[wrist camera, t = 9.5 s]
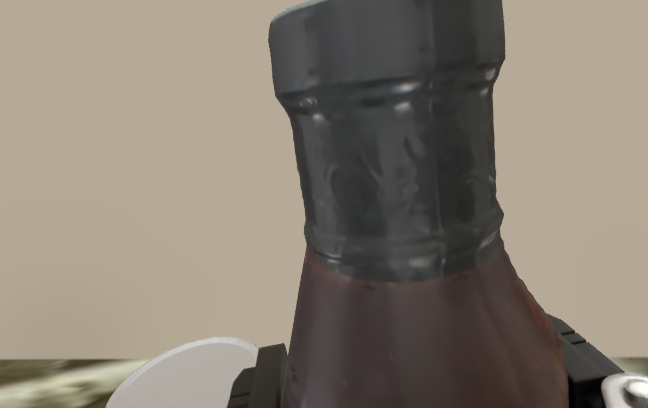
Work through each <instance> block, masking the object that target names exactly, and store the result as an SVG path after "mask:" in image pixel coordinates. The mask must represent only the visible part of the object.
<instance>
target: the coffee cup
mask: <svg viewBox="0 0 648 408" xmlns="http://www.w3.org/2000/svg"><path fill="white" fill-rule="evenodd" d="M258 350H259V348H258V347H257V346H256V345H255V344H253V343H252V342H250V341H248V340H245V339H242V338H238V337H229V336H228V337H227V336H220V337H210V338H205V339H200V340H196V341H192V342H189V343H186V344H183V345H181V346H177V347H175V348H173V349H171V350H168V351H167V352H164V353H162V354H160V355H158V356H157V357H155V358H153V359H152V360H150V361H148V362H147V363H145V364H144V365H142V366H141V367H140V368H138V369H137V370H136V371H134V372H133V373H132V374H131V375H130V376H129V377H127V378H126V379H125V380H124V381H123V382H122V383H121V384H120V386H119V387H118V388H117V389H116V390H115V392H114V393H113V395H112V396H111V397H110V399H109V401H108V403H107V405H106V408H227V405H228V401H229V399H230V393H231V389H232V385H233V382H234V381H235V379H236V378H237V377H238V375H239V374H240V373H241V371H242V370H243V369H245V368H251V367H255V366H256V360H257V355H258Z"/></svg>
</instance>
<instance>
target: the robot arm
mask: <svg viewBox="0 0 648 408" xmlns="http://www.w3.org/2000/svg"><path fill="white" fill-rule="evenodd" d="M546 314H547V313H546ZM547 316H548V317H549V319H550V320H551V322H552V324H553V325H554V327H555V329H556V331H557V333H558V335H559V337H560V339H561V340H562V342H563V344H564V356H565V366H566V370H567V374H568V387H569V389H568V398H569V408H648V376H644V375H640V374H633V373H625V372H624V371H623V370H621V369H620V368H619V367H618V366H617V365H615V364H614V363H613V362H612V361H611V360H609V359H608V358H607V357H606V356H605V355H603V354H602V353H601V352H600V351H598V350H597V349H596V348H595V347H594V346H592V345H591V344H590V343H589V342H588V343H587V342H586V340H585V339H584V338H583V337H582V336H580V335H579V334H578V333H575V331H574V330H573V329H572V328H571V327H569V326H568V325H567V324H566V323H565V322H563V321H562V320H560V319H558V318H556V317H553V316H551V315H549V314H547ZM287 359H288V355H287V351H286V347H285V345H284V343H282V344H278V345H272V346H267V347H262V348H259V350H258V355H257V360H256V366H255V367H251V368H245V369H243V370H242V371H241V373H240V374H239V375H238V377H237V378H236V379H235V381H234V382H233V385H232V389H231V393H230V399H229V401H228V405H227V408H280V403H281V396H282V390H283V384H284V378H285V372H286V366H287Z"/></svg>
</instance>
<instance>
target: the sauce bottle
mask: <svg viewBox="0 0 648 408" xmlns="http://www.w3.org/2000/svg"><path fill="white" fill-rule="evenodd" d="M504 34H505V32H504V19H503V8H502V0H310V1H307V2H305V3H302V4H299V5H296V6H293V7H291V8H288V9H287V10H285V11H284V12H282V13H280V14H278V15H277V16H275V17H274V18H273V19H272V21H271V24H270V28H269V38H268V42H269V47H270V52H271V62H272V75H273V76H272V77H273V84H274V90H275V96H276V98H277V99H278V100H279V102H280V104H281V105H282V106H283V107H284V109H285V111H286V112H287V114H288V116H289V118H290V122H291V126H292V130H293V140H294V146H295V154H296V160H297V169H298V172H299V175H300V185H301V190H302V196H303V200H304V207H305V216H306V221H305V226H304V235H305V239H306V242H307V248H306V253H305V258H304V264H303V269H302V275H301V281H300V287H299V293H298V299H297V305H296V311H295V317H294V323H293V329H292V335H291V342H290V348H289V353H288V359H287V366H286V372H285V378H284V384H283V390H282V396H281V403H280V408H569V398H568V389H569V387H568V374H567V370H566V366H565V356H564V344H563V342H562V340H561V339H560V337H559V335H558V333H557V331H556V329H555V327H554V325H553V324H552V322H551V320H550V319H549V317H548V316H547V314H546V313H545V311H544V310H543V309H542V308H541V306H540V305H539V304H538V303H537V302H536V300H535V299H534V297H533V295H532V294H531V293H530V292H529V291H528V289H527V287H526V285H525V284H524V282H523V281H522V280H521V279H520V278H519V277H518V276H517V273H516V271H515V269H514V267H513V265H512V264H511V262H510V259H509V256H508V254H507V253H506V251H505V250H504V242H503V240H502V239H501V237H500V226H501V223H502V220H503V217H504V213H503V211H502V209H501V207H500V205H499V203H498V201H497V199H496V182H495V180H496V169H495V149H494V127H493V100H492V99H493V98H492V94H493V85H494V83H495V81H496V79H497V77H498V75H499V72H500V68H501V66H502V64H503V62H504V60H505V35H504Z"/></svg>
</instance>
